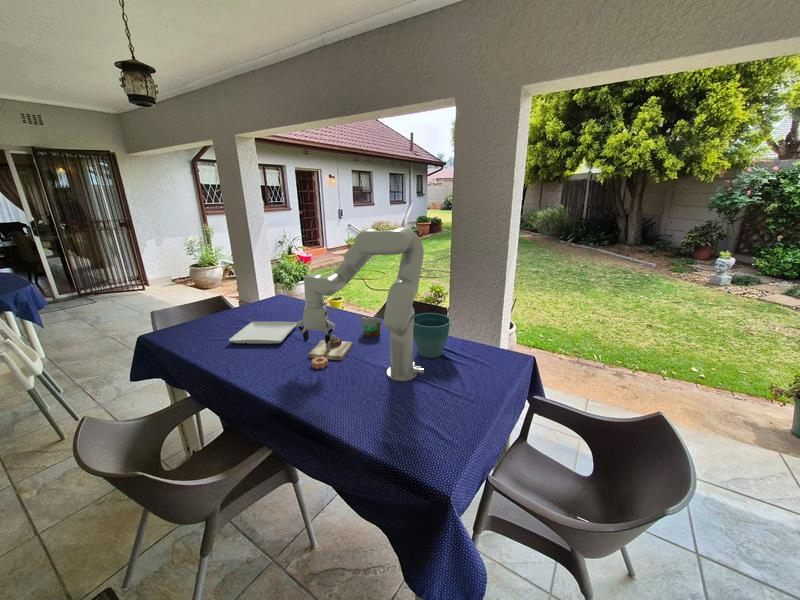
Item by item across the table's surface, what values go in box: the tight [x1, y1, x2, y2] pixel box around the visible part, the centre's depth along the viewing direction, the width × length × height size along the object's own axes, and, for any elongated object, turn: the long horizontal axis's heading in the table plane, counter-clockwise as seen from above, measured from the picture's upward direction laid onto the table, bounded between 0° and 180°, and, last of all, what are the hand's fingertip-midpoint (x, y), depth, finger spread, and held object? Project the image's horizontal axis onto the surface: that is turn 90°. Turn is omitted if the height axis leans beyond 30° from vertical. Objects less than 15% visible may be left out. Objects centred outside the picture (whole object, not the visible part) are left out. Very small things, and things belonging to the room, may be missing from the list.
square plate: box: [228, 321, 298, 345], centre depth 181 cm, size 27×27×4 cm
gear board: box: [308, 334, 353, 361], centre depth 161 cm, size 16×16×6 cm
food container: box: [360, 314, 383, 338], centre depth 179 cm, size 12×6×10 cm, turn 62°
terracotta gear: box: [311, 356, 329, 370], centre depth 149 cm, size 7×7×2 cm
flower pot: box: [413, 312, 451, 359], centre depth 158 cm, size 18×18×17 cm
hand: (316, 341), depth 146 cm, fingers open, 9 cm apart
